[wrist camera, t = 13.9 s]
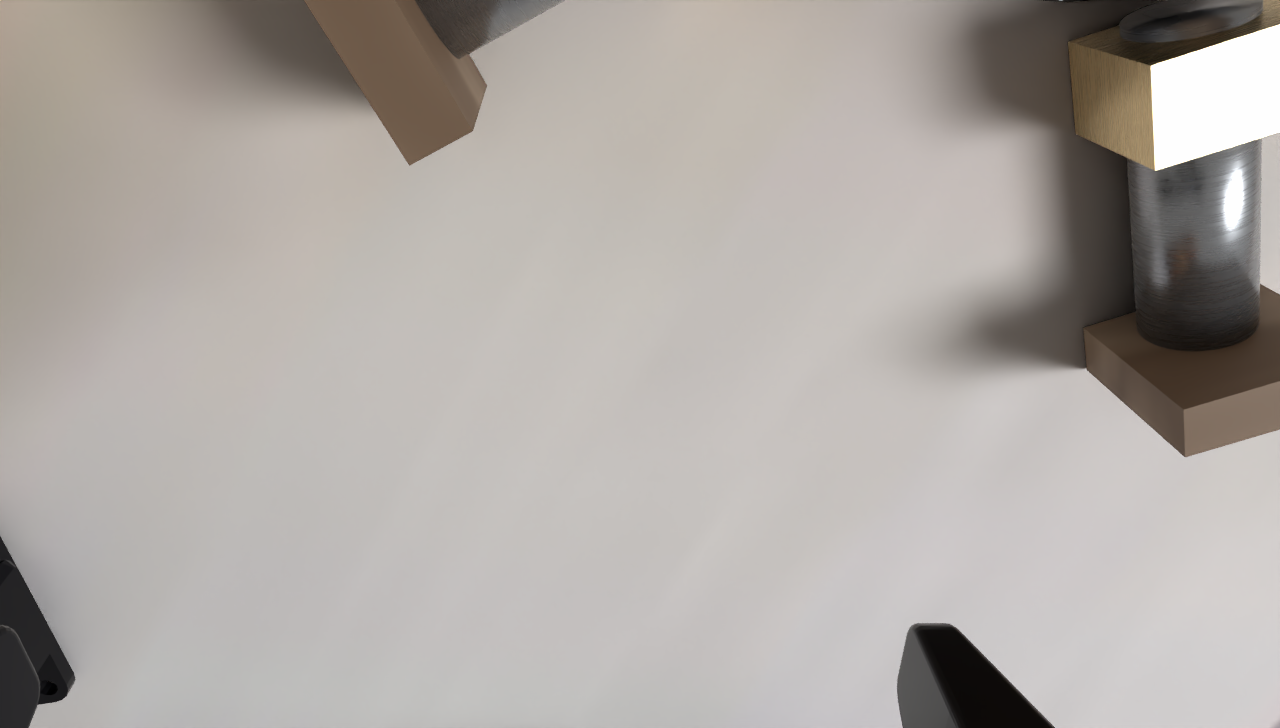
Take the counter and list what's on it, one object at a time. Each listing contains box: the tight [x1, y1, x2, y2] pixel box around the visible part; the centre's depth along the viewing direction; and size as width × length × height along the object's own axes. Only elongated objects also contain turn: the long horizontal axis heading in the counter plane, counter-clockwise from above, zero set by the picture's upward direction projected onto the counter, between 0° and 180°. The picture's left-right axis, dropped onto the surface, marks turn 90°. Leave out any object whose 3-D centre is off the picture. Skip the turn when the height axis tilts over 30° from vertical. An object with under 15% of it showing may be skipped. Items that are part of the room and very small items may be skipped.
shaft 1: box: [1068, 0, 1280, 457], centre depth 19 cm, size 8×4×4 cm, turn 17°
